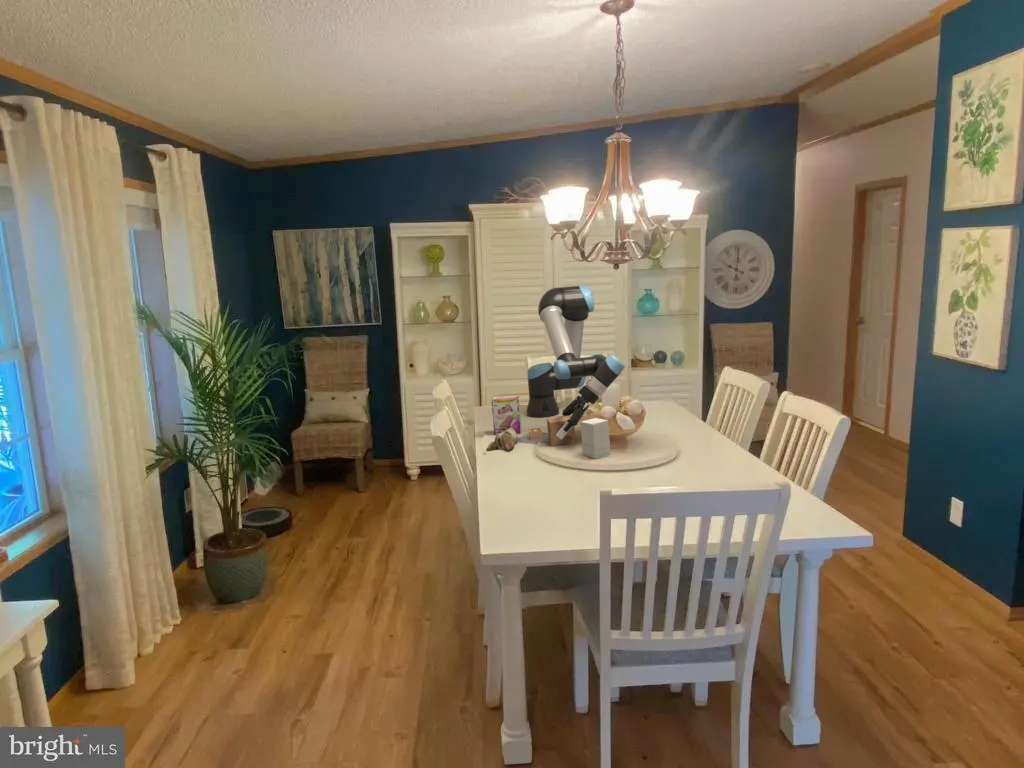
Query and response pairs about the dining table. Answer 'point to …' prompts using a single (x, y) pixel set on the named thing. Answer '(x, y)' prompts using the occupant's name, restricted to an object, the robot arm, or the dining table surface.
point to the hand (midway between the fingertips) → (556, 433)
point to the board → (527, 440)
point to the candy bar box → (506, 414)
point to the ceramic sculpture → (504, 440)
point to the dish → (535, 434)
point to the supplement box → (595, 437)
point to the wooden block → (554, 428)
